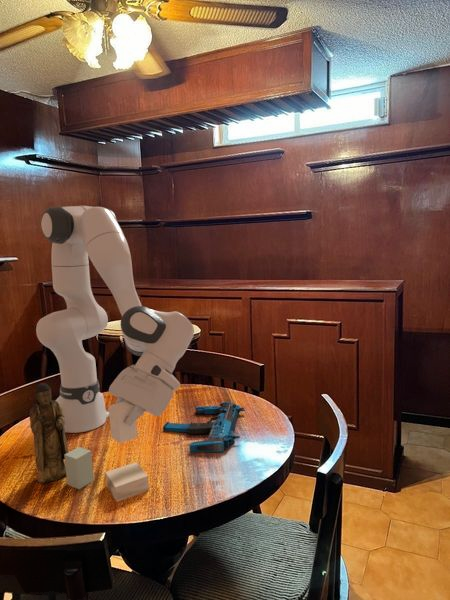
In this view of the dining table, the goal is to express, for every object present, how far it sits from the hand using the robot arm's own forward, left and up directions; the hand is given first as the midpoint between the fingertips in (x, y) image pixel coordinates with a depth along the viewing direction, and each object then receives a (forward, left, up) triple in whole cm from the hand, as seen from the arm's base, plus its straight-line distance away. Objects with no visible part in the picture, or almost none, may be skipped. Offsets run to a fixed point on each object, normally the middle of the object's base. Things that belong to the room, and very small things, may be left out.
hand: (120, 420), depth 102 cm
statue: (-18, -11, -18) cm, 27 cm away
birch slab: (0, 0, -18) cm, 18 cm away
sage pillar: (-11, -7, -18) cm, 22 cm away
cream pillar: (0, +1, -4) cm, 4 cm away
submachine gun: (-13, +36, -18) cm, 42 cm away
